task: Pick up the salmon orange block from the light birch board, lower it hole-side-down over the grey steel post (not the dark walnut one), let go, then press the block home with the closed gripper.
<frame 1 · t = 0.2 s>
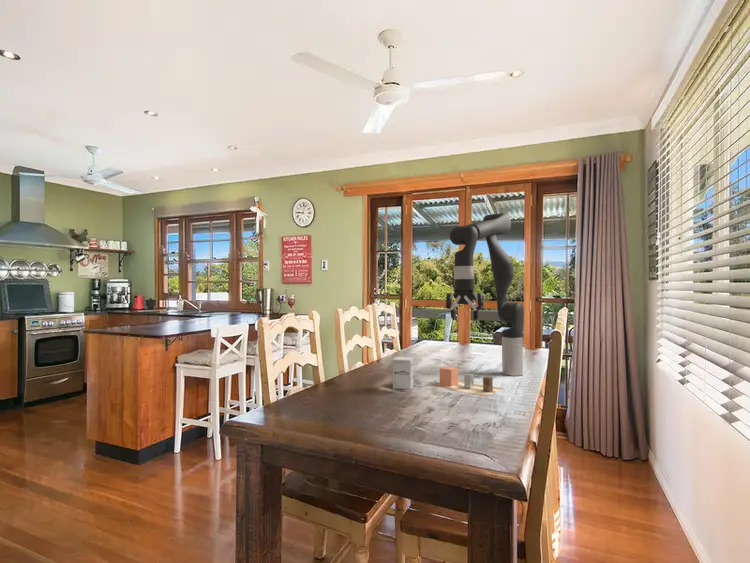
hand: (464, 320, 159), 28 cm above the table, tool pointing down, fingers open, 8 cm apart
board: (466, 390, 163), on the table
walnut post: (487, 391, 157), resting on board
salmon orange block: (448, 384, 169), point 1 cm above the table, touching board
steel post: (468, 387, 163), resting on board
supplement box: (403, 390, 165), on the table
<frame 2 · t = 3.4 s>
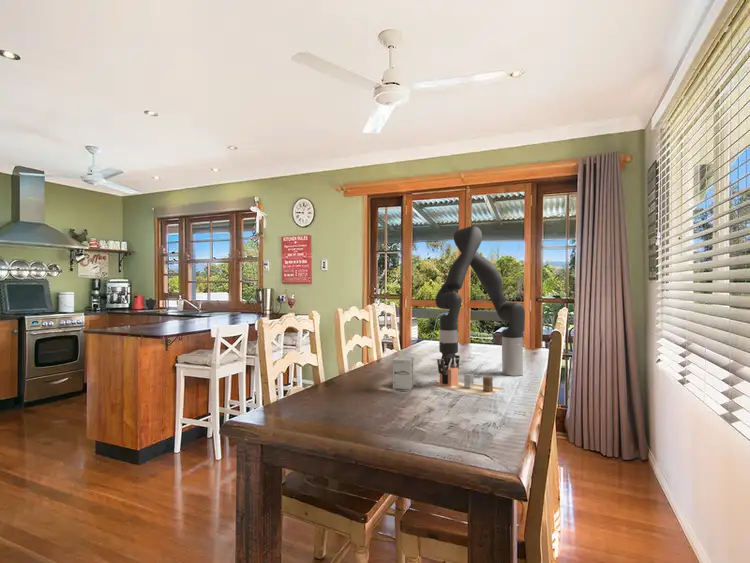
hand: (448, 382, 169), 2 cm above the table, tool pointing down, fingers closed on salmon orange block, 5 cm apart
salmon orange block: (448, 384, 169), point 1 cm above the table, touching board, gripper
everything else where it was.
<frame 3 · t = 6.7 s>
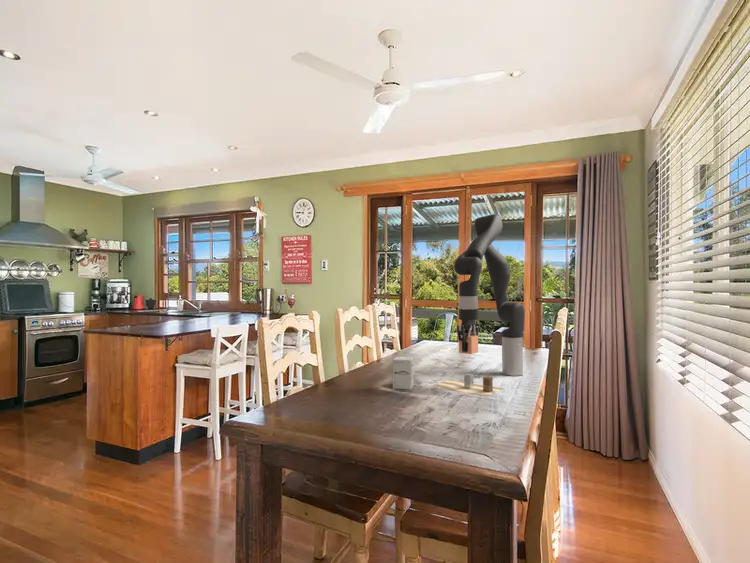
hand: (468, 350, 163), 16 cm above the table, tool pointing down, fingers closed on salmon orange block, 5 cm apart
salmon orange block: (468, 352, 163), point 15 cm above the table, touching gripper
everything else where it was.
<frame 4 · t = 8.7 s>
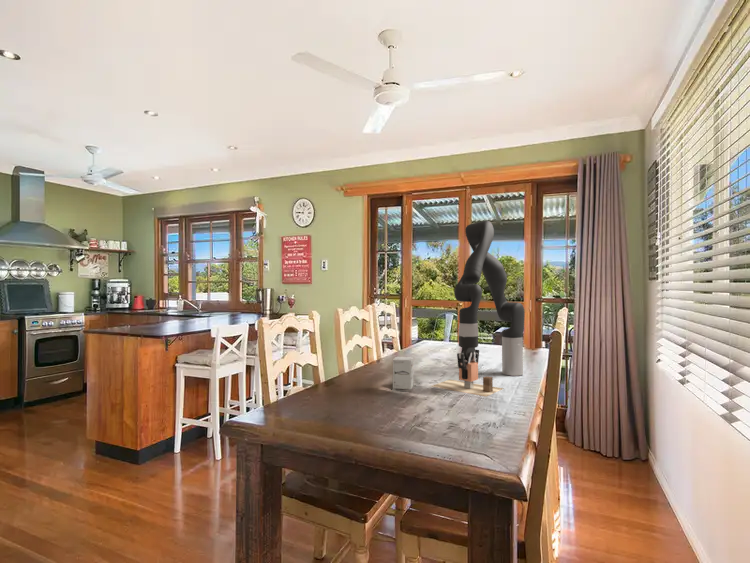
hand: (468, 377, 163), 5 cm above the table, tool pointing down, fingers closed on salmon orange block, 5 cm apart
salmon orange block: (468, 379, 163), point 4 cm above the table, touching gripper
everything else where it was.
when the fingers open (3 cm above the table, at t = 10.2 s): salmon orange block drops 1 cm, resting on board.
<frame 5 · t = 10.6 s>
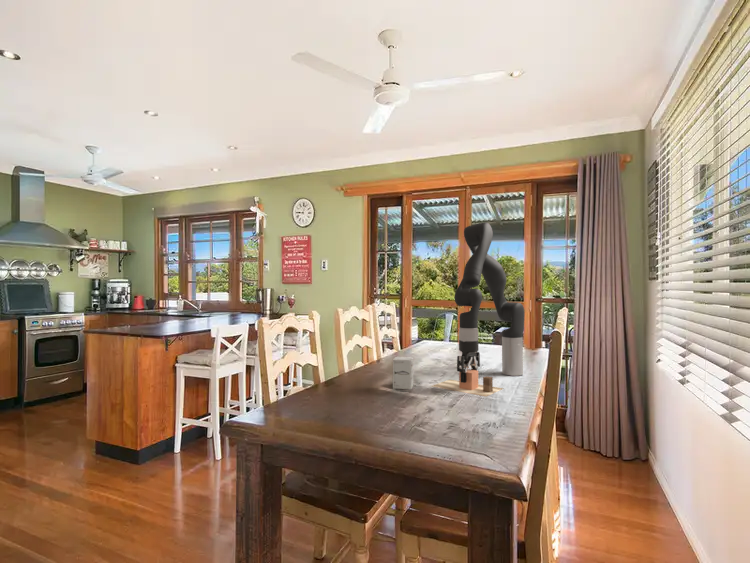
hand: (468, 380, 163), 4 cm above the table, tool pointing down, fingers open, 8 cm apart
salmon orange block: (468, 387, 163), point 1 cm above the table, touching board
everything else where it was.
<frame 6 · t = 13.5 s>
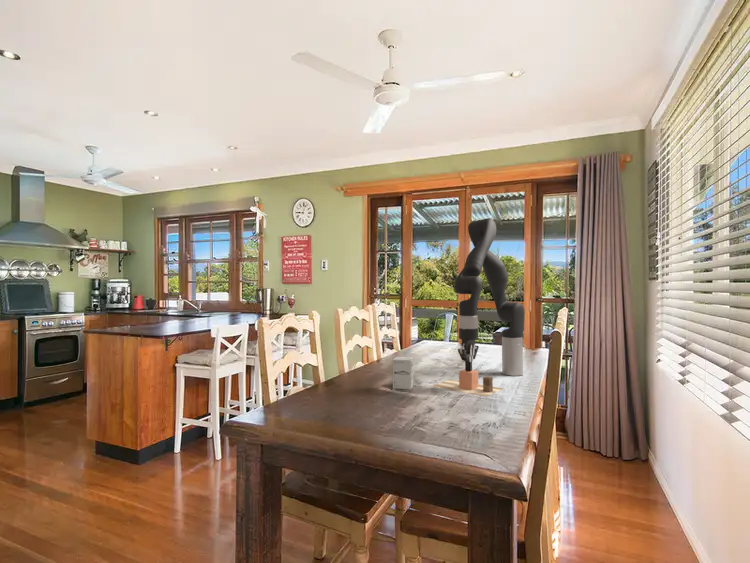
hand: (468, 371, 163), 8 cm above the table, tool pointing down, fingers closed
salmon orange block: (468, 387, 163), point 1 cm above the table, touching board, gripper
everything else where it was.
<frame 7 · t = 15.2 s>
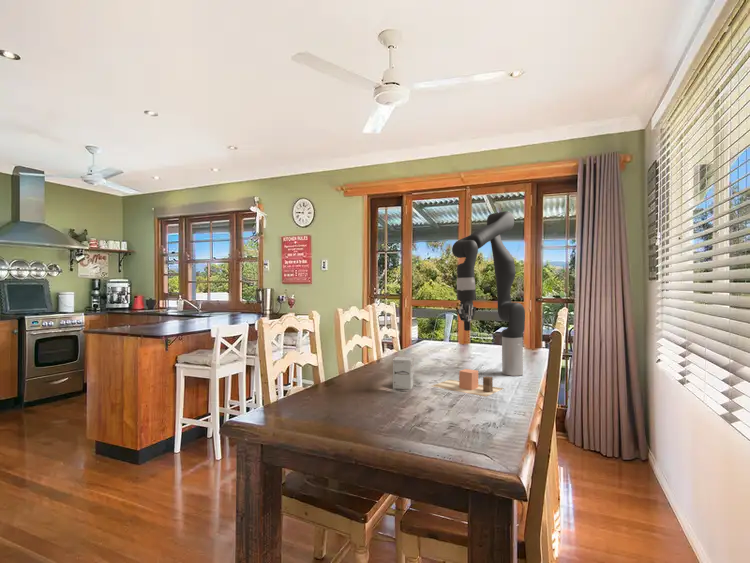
hand: (467, 330, 171), 23 cm above the table, tool pointing down, fingers closed
salmon orange block: (468, 387, 163), point 1 cm above the table, touching board
everything else where it was.
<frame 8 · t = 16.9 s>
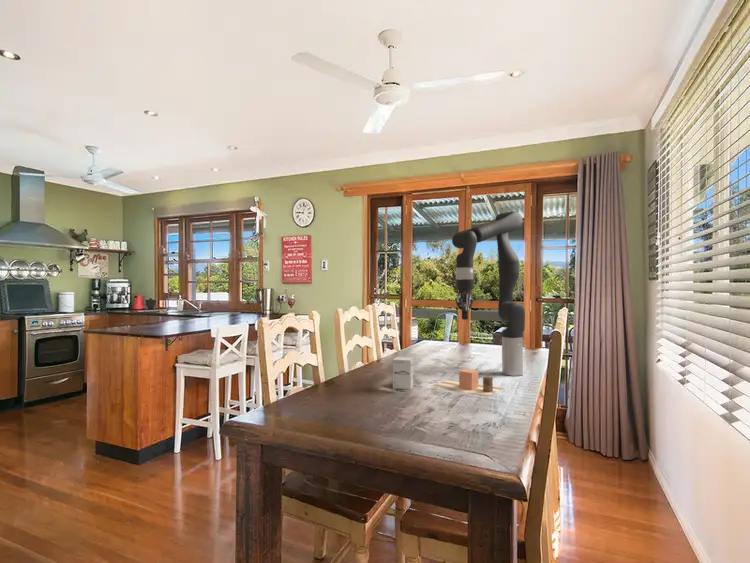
hand: (465, 319, 175), 27 cm above the table, tool pointing down, fingers closed
nothing on the table moved.
at the end: salmon orange block 0.0 cm from the steel post (horizontally); salmon orange block point 1.2 cm above the table; salmon orange block tilted 0° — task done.
